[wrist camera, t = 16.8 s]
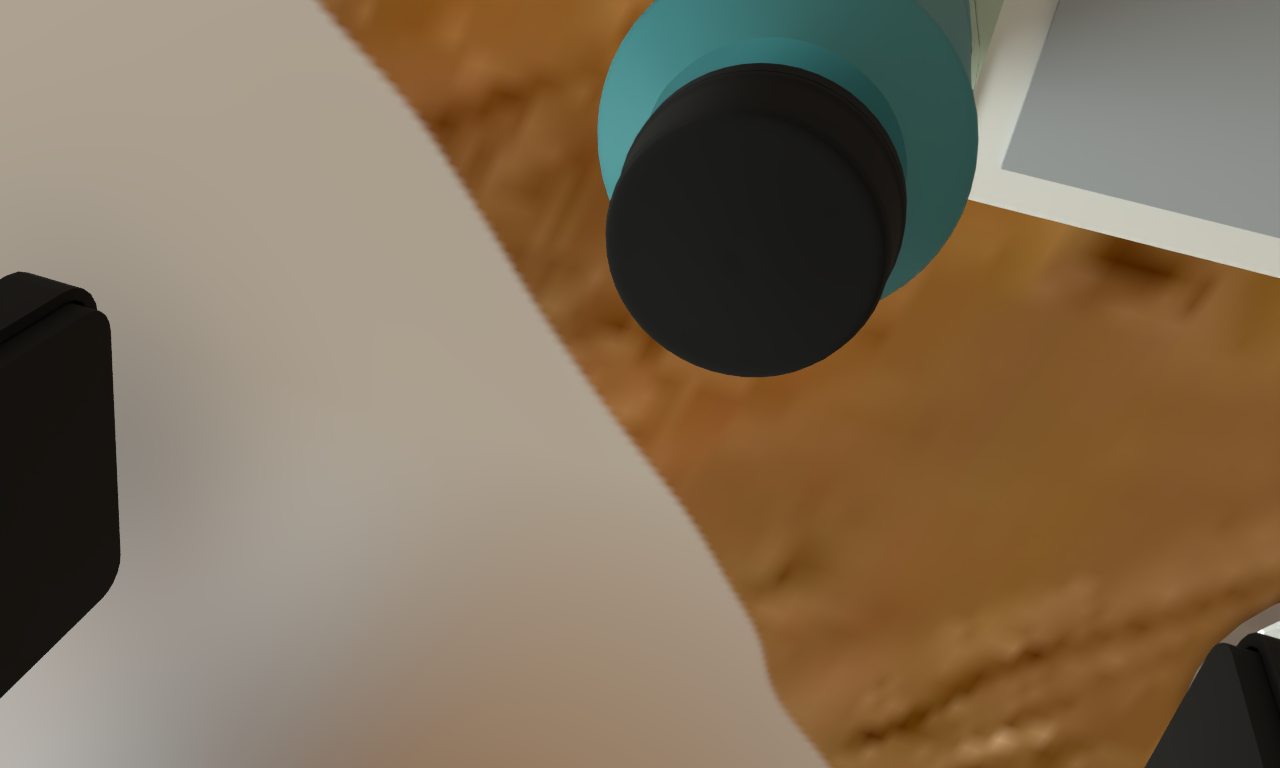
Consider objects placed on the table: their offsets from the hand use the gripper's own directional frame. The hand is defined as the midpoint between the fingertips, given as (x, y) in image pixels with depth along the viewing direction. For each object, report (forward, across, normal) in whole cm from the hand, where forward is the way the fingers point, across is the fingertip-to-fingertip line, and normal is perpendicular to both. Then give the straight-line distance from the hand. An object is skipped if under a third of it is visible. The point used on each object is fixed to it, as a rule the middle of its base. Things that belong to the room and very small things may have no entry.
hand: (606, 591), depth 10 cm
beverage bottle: (+27, 0, 0) cm, 27 cm away
